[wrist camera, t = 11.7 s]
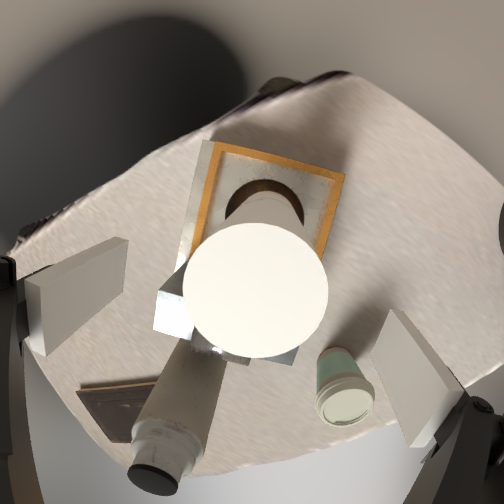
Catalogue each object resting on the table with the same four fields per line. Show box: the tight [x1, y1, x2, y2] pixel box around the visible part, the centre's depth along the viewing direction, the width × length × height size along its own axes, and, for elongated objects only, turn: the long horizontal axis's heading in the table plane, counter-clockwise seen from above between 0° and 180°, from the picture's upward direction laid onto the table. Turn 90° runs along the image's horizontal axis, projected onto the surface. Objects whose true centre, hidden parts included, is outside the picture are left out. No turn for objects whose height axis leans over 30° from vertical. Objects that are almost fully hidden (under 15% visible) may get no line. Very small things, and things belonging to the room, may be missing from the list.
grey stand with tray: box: [153, 140, 345, 366], centre depth 35 cm, size 18×22×18 cm
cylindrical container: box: [183, 191, 328, 358], centre depth 27 cm, size 7×7×25 cm
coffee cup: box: [315, 347, 375, 427], centre depth 42 cm, size 9×8×12 cm
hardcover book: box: [76, 381, 157, 443], centre depth 54 cm, size 16×23×2 cm
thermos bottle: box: [127, 338, 227, 496], centre depth 35 cm, size 8×8×28 cm
